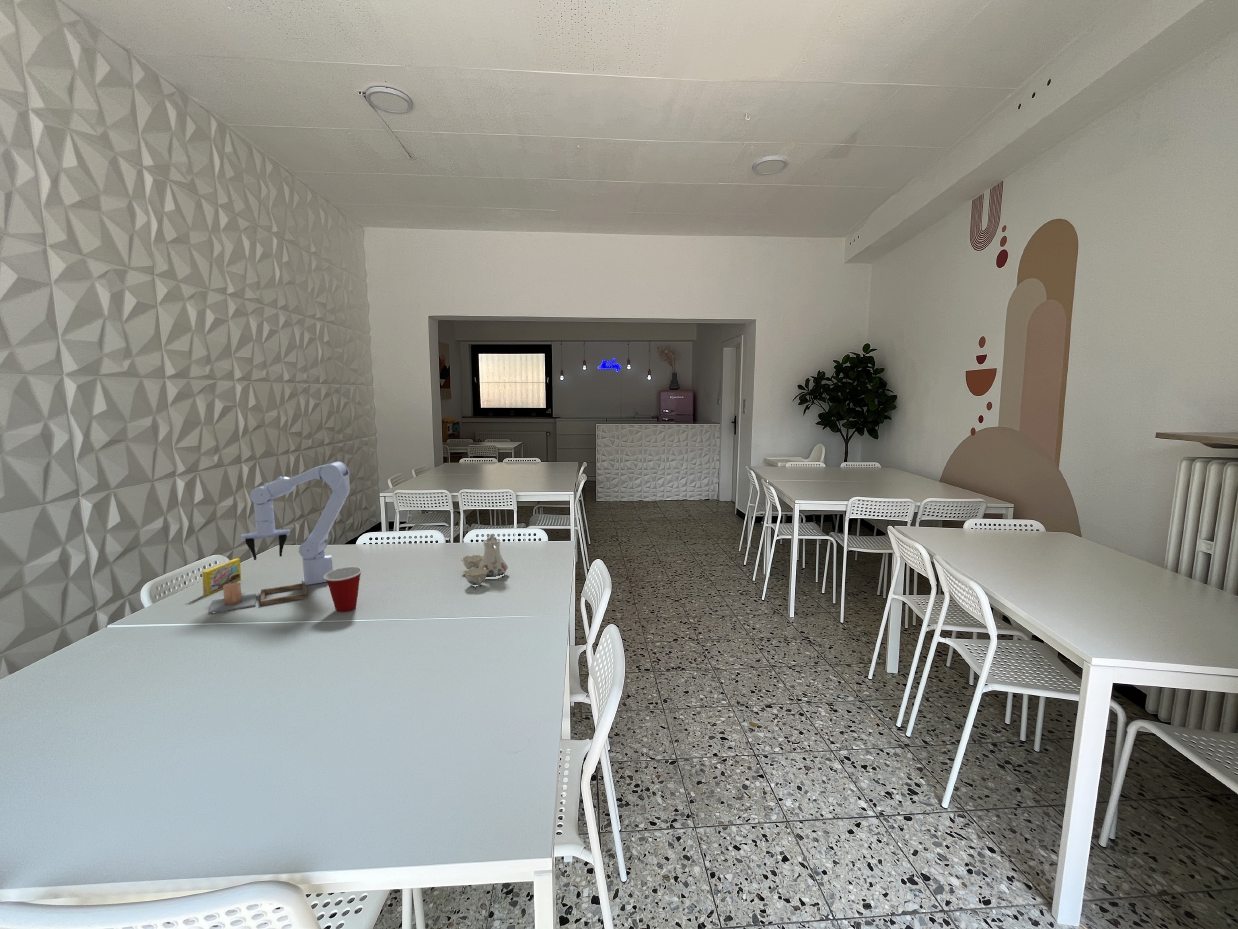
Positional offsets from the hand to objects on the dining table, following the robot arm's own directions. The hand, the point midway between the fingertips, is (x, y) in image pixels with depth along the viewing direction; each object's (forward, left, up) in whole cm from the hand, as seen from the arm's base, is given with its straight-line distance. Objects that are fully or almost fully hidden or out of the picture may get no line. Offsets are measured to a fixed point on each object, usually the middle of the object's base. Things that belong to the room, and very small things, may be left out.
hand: (268, 557), depth 200 cm
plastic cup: (-20, +42, -10) cm, 47 cm away
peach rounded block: (+10, +18, -9) cm, 23 cm away
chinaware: (-67, +35, -10) cm, 76 cm away
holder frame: (-4, +18, -9) cm, 21 cm away
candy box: (+14, -4, -10) cm, 18 cm away
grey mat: (+10, +18, -9) cm, 23 cm away
